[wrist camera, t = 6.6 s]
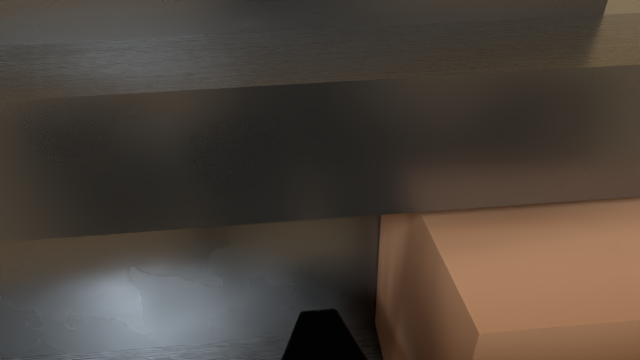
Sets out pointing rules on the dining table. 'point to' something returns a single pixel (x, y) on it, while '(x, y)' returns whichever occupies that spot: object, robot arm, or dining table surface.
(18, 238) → the chute
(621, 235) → the block
